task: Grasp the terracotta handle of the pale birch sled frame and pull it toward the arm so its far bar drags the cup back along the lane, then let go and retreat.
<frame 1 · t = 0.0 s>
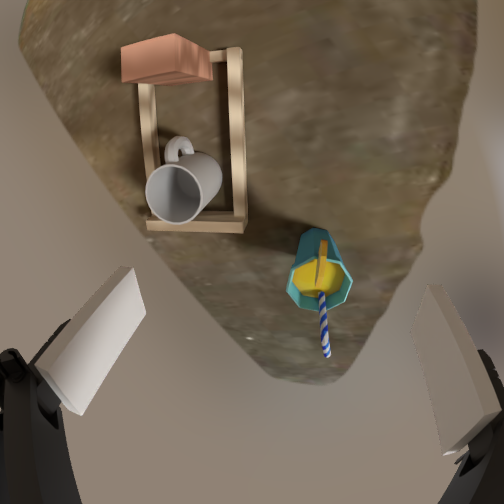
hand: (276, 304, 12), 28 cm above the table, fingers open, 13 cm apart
sled: (176, 145, 31), point 6 cm above the table, slide at 0.0 cm
cup: (197, 166, 39), resting in sled
cup 2: (317, 249, 42), on the table
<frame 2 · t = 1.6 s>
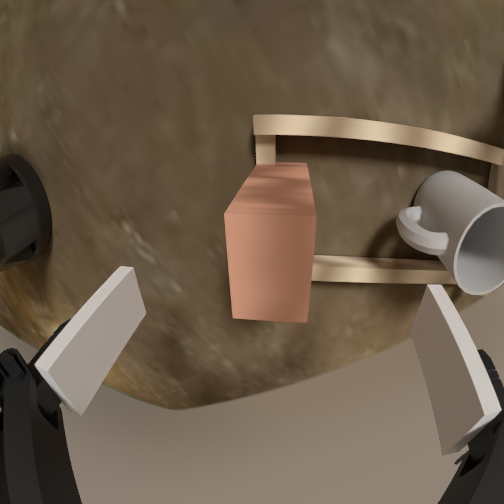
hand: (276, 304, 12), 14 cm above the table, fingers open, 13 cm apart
sled: (418, 231, 18), point 6 cm above the table, slide at 0.0 cm
cup: (430, 205, 23), resting in sled
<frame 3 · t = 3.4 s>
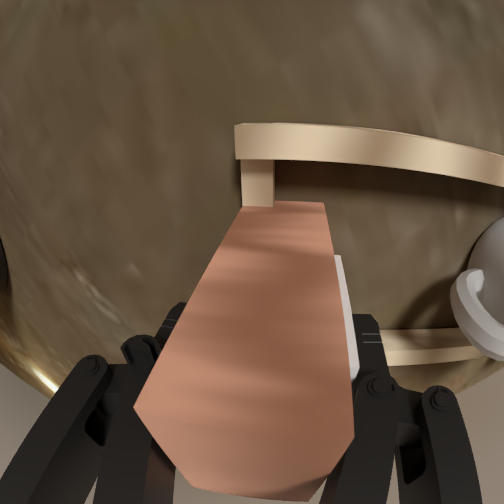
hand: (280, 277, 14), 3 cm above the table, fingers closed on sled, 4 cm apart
sled: (488, 326, 9), point 6 cm above the table, slide at 0.0 cm, touching gripper
cup: (487, 260, 14), resting in sled
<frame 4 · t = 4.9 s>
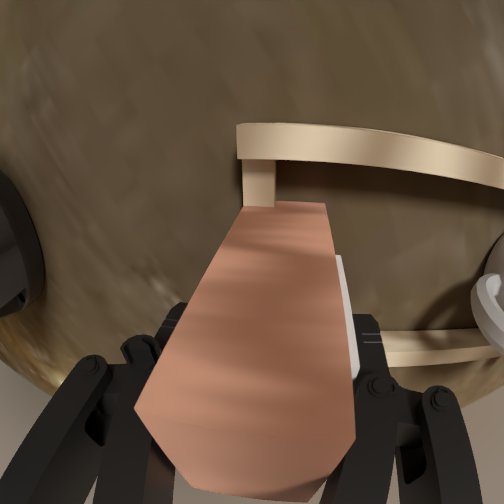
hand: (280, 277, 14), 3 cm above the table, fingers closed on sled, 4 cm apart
sled: (488, 328, 9), point 6 cm above the table, slide at 7.6 cm, touching cup, gripper
cup: (502, 265, 14), resting in sled
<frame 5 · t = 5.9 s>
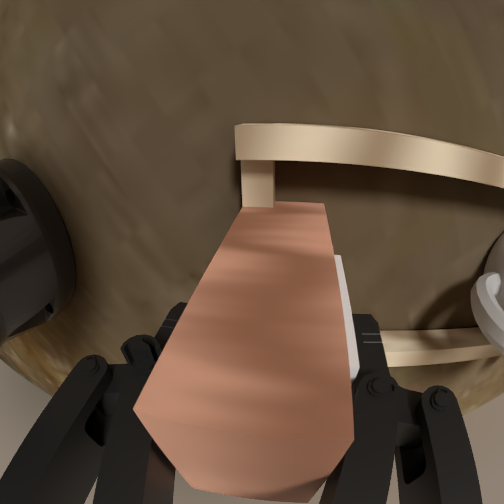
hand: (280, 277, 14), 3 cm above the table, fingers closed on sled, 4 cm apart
sled: (488, 327, 9), point 6 cm above the table, slide at 12.0 cm, touching gripper
cup: (502, 263, 14), resting in sled
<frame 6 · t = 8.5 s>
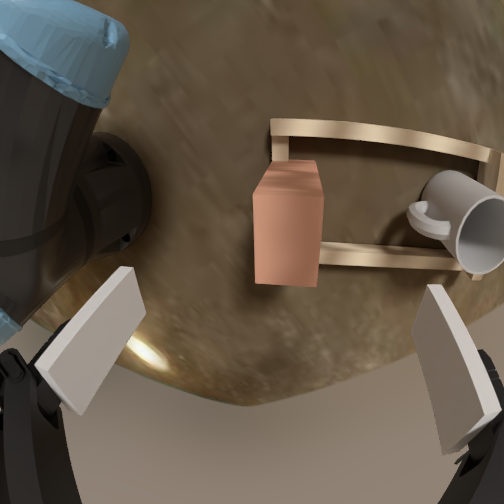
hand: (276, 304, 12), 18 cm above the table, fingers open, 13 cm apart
sled: (410, 218, 21), point 6 cm above the table, slide at 12.0 cm
cup: (435, 201, 26), resting in sled
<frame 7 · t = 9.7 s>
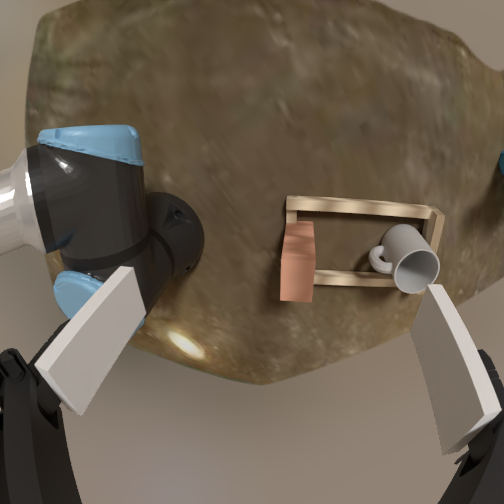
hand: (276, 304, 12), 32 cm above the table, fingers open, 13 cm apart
sled: (368, 260, 38), point 6 cm above the table, slide at 12.0 cm
cup: (392, 243, 43), resting in sled
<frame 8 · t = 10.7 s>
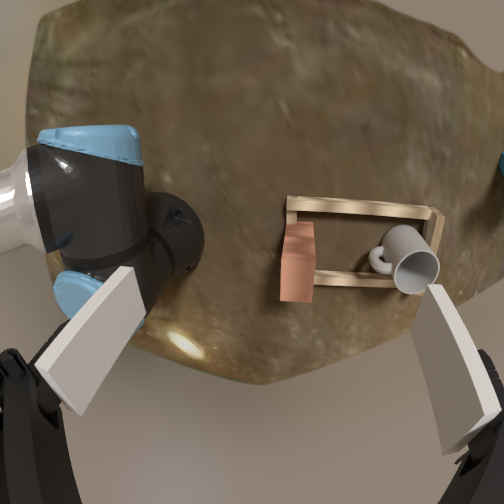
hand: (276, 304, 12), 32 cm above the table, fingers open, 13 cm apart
sled: (368, 261, 38), point 6 cm above the table, slide at 12.0 cm
cup: (392, 243, 43), resting in sled
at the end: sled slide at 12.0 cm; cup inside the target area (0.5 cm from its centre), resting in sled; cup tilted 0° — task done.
